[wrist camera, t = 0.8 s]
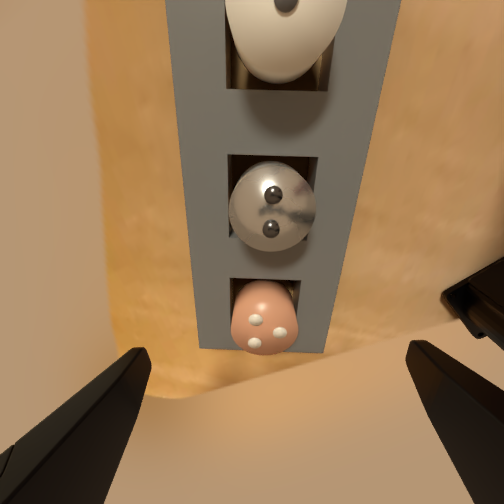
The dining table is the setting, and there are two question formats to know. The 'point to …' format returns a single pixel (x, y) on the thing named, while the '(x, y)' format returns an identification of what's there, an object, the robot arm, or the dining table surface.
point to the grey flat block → (276, 144)
